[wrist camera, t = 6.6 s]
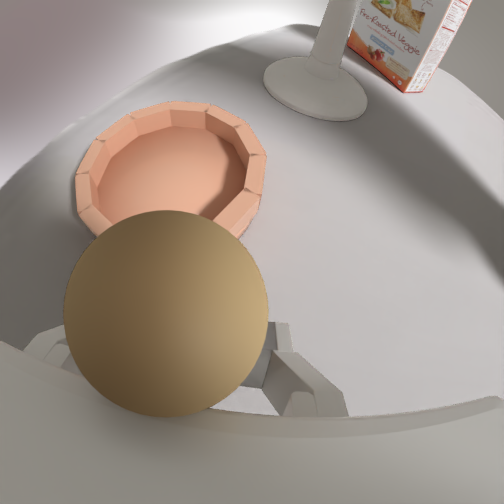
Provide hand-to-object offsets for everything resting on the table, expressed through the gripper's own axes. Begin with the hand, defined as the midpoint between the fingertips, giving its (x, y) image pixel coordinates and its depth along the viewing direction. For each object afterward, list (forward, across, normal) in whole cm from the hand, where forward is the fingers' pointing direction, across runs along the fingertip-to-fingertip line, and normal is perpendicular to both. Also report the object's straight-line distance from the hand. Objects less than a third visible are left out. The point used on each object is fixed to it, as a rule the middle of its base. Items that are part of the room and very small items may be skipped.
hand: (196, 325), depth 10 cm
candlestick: (+27, -7, -15) cm, 31 cm away
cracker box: (+36, -19, -24) cm, 47 cm away
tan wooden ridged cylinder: (+6, 0, +6) cm, 8 cm away
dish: (+14, +5, -2) cm, 15 cm away
